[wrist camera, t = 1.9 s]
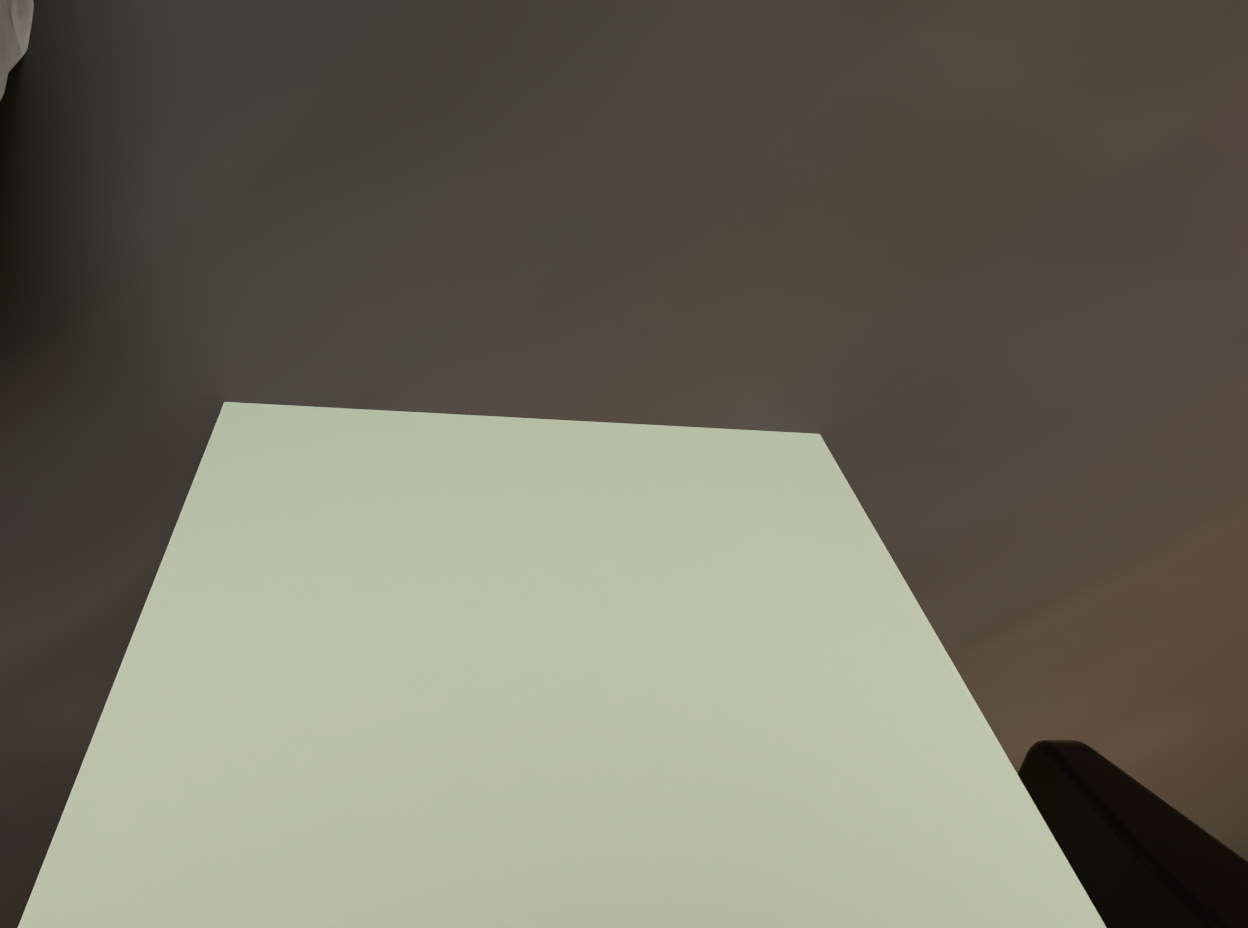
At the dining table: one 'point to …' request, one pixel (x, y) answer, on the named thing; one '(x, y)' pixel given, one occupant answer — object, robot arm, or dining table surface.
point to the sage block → (538, 697)
